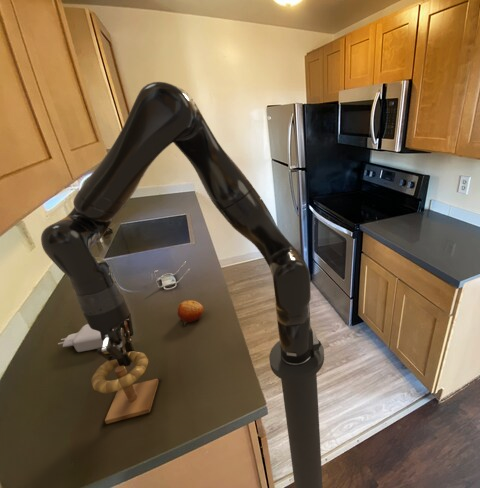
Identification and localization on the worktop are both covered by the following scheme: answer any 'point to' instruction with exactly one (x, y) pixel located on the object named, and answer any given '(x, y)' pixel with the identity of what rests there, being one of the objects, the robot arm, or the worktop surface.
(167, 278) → the wall mount rack
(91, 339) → the charger
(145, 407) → the wooden peg stand
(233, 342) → the worktop surface
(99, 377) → the ring
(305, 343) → the robot arm
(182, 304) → the fruit
